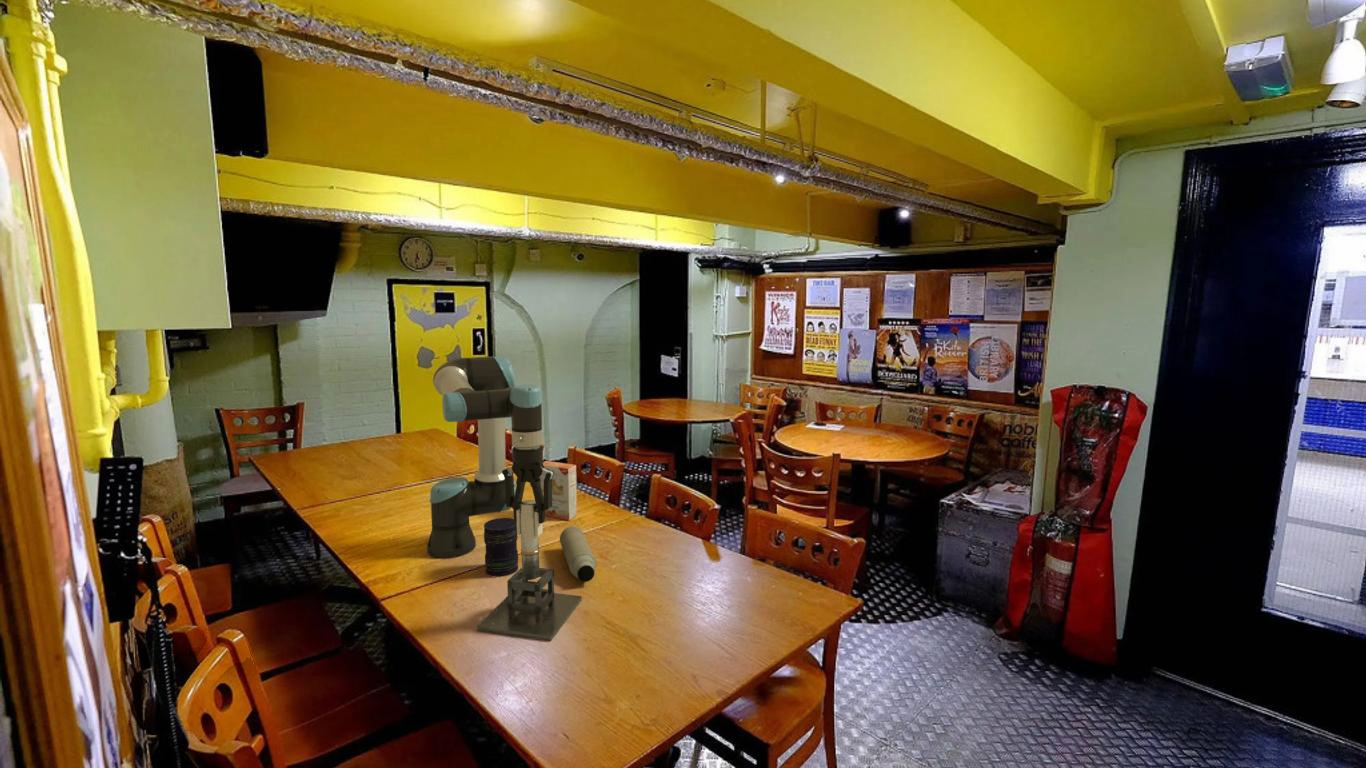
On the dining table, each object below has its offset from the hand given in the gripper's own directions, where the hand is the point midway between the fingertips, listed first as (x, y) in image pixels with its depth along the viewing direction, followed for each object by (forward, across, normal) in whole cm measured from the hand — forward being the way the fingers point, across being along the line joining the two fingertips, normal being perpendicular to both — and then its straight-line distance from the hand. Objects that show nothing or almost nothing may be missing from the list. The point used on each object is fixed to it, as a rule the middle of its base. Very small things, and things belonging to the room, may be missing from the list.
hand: (529, 533), depth 149 cm
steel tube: (+12, 0, 0) cm, 12 cm away
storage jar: (+23, -21, +22) cm, 38 cm away
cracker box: (+23, -23, +68) cm, 75 cm away
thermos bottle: (+19, -6, +42) cm, 46 cm away
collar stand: (+23, 0, 0) cm, 23 cm away
